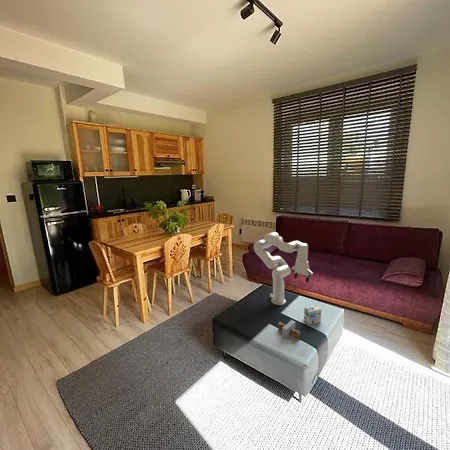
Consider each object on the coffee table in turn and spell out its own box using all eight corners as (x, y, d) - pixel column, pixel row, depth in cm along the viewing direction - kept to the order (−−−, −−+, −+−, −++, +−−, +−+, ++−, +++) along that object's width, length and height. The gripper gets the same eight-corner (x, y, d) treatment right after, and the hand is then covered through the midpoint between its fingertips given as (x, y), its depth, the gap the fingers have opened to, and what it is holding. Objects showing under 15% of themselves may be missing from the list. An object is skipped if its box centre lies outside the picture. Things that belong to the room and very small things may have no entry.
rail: (278, 329, 172) (278, 323, 171) (279, 327, 174) (280, 321, 172) (298, 339, 161) (298, 333, 160) (299, 338, 162) (300, 331, 161)
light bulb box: (308, 324, 176) (309, 311, 174) (303, 319, 182) (304, 306, 180) (321, 321, 179) (321, 309, 176) (315, 316, 185) (316, 304, 183)
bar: (282, 336, 164) (282, 327, 163) (291, 328, 173) (291, 319, 171) (286, 338, 162) (286, 329, 161) (295, 330, 170) (295, 321, 169)
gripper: (289, 257, 185) (289, 278, 189) (310, 263, 173) (309, 284, 177) (294, 255, 190) (294, 275, 194) (315, 260, 178) (314, 281, 182)
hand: (301, 279), depth 186 cm, fingers open, 9 cm apart
